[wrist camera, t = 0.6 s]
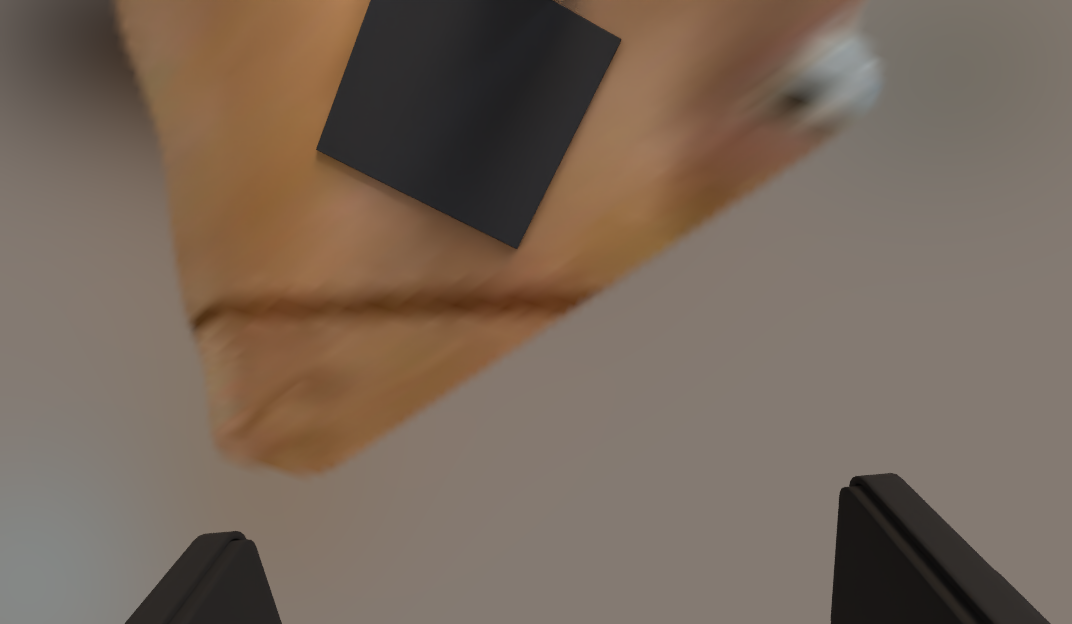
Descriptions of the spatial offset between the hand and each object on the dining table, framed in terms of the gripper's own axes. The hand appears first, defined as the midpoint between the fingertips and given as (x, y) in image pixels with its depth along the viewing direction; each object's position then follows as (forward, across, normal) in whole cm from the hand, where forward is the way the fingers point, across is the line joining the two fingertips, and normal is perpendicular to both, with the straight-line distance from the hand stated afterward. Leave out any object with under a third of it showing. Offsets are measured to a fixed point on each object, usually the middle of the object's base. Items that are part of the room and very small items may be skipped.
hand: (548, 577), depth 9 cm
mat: (+30, +4, -9) cm, 31 cm away
